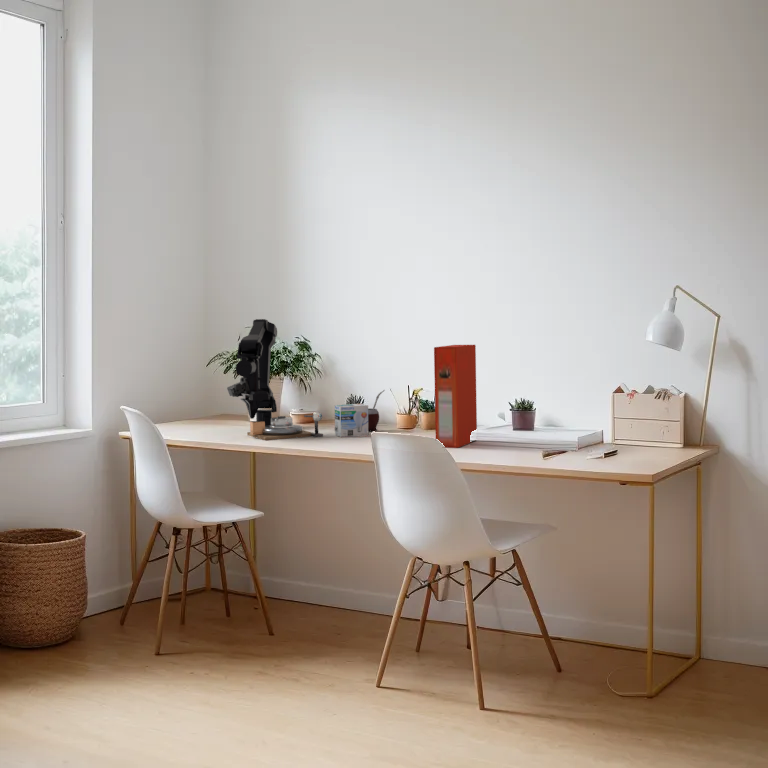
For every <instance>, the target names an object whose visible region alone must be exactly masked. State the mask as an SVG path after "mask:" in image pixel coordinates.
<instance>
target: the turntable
mask: <svg viewBox="0 0 768 768" xmlns="http://www.w3.org/2000/svg"><path fill="white" fill-rule="evenodd" d="M249 423H250V424H249V425H250V428H249V429H250V431H249V432H250V434H252V435H259V434H265V435H290V434H298V433H302V430H303V426H302V425H300V424H293V425H294V427H293V428H285V429H274V428H270V425H268V426H265V422H264V421H250V422H249Z"/></svg>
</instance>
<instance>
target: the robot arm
mask: <svg viewBox="0 0 768 768" xmlns="http://www.w3.org/2000/svg"><path fill="white" fill-rule="evenodd" d="M276 337H278V328H277V326H276V324H275V323H272V322H270V321H269V320H268V319H266V318H258V319H257V318H255V319H253V321H252V326H251V329H250V331H249V333H248V335H245V336H244V337H242V339H241V340H240V342H239V343H238V347H237V354H236V359H237V360H239V361H238V362H237V363H236V366H235V371H236V373H237V375H239V376H240V379H239V380H240V381H239V382H236V383H234V384H232V385H230V386H227V388H226V389H227V392H228V394H229V396H230V397H233V398H234V397H235V398H239V397H242V398H240V400H241V401H242V402H243V403H245V406H246V409H247V411H248V415H249V418H250V419H255V417H256V419H255V420H256V421H264V422H265V426H268V425H271V418H273V416H272V414H273V413H277V412H278V409H277V408H278V407H277V401H276V399H275V396H274V392H273V391H272V389H271V387H270V371H271V355H272V354H271V352H272V351H271V349H272V347H273V346H274V345H275V343H276V339H277V338H276ZM240 359H241V360H240ZM256 421H255V422H256Z"/></svg>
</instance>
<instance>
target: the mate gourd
mask: <svg viewBox="0 0 768 768" xmlns="http://www.w3.org/2000/svg"><path fill="white" fill-rule="evenodd" d="M385 391H386V390H385V389H383V390H382V391H380V392H379V393H378V394H377V395H376V398H375V402H374V404H373V407H372V408H368V433H369V432H371V433H373V432H372V431H375V432H376V431H378V429H377V426H378V424H379V422H380V414H379V411H378V409H377V408H376V405H377V404H378V403H377V402H378V400H379V398H380V396H381V395H382V393H383V392H385Z"/></svg>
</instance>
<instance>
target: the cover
mask: <svg viewBox="0 0 768 768" xmlns="http://www.w3.org/2000/svg"><path fill="white" fill-rule="evenodd" d="M294 425H295V424H294V423H293V417H292V416H291V417H290V416H286V415H278V416H277V417H275V416H274V417H272V418H271V425H270V428H274V429H285V428H293V427H294Z"/></svg>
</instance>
